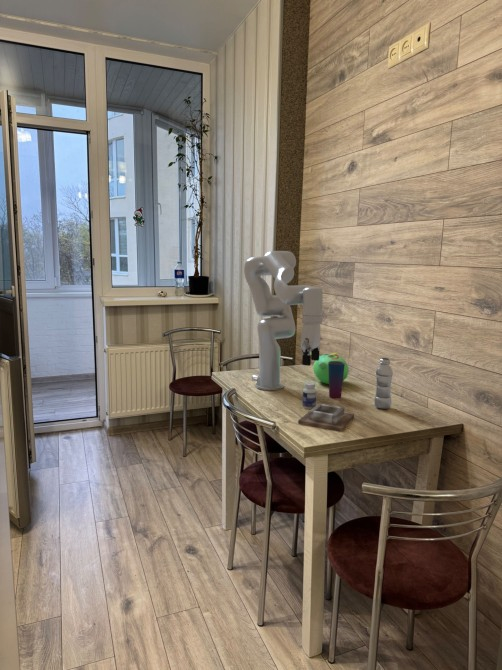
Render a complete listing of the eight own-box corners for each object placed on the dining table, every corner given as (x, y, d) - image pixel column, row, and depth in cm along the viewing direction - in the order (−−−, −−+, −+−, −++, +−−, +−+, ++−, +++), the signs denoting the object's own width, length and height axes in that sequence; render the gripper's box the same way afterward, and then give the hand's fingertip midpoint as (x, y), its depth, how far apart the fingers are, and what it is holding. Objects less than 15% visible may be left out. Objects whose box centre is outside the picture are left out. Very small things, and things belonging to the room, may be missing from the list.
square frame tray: (298, 423, 170) (298, 412, 169) (313, 410, 184) (313, 400, 183) (341, 431, 163) (341, 419, 162) (354, 417, 177) (354, 406, 176)
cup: (343, 399, 198) (344, 364, 195) (326, 398, 199) (328, 364, 196) (343, 395, 204) (344, 361, 202) (327, 394, 206) (328, 360, 203)
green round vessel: (354, 387, 216) (355, 356, 213) (319, 389, 212) (320, 357, 209) (337, 377, 233) (338, 348, 230) (305, 379, 229) (306, 349, 226)
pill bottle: (301, 405, 191) (301, 381, 189) (314, 404, 191) (315, 381, 189) (303, 409, 185) (304, 385, 184) (317, 409, 186) (318, 385, 184)
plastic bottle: (382, 411, 183) (385, 361, 180) (370, 406, 189) (372, 357, 186) (394, 409, 186) (397, 359, 183) (382, 404, 192) (385, 356, 189)
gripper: (310, 316, 191) (309, 357, 194) (294, 321, 176) (293, 366, 179) (328, 317, 188) (327, 359, 191) (313, 323, 173) (312, 368, 176)
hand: (310, 362), depth 185 cm, fingers open, 9 cm apart
